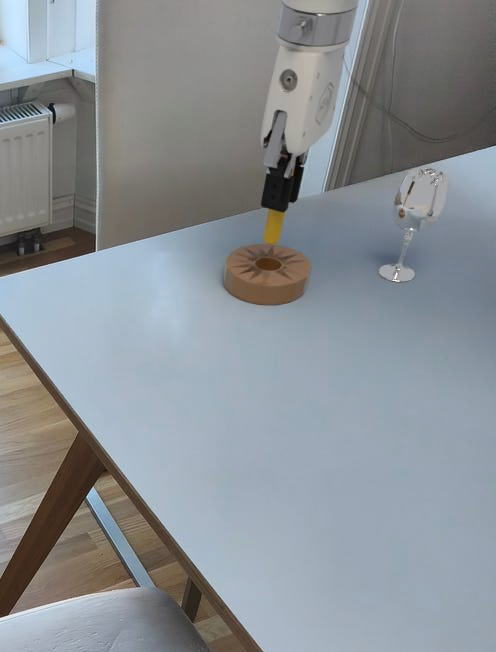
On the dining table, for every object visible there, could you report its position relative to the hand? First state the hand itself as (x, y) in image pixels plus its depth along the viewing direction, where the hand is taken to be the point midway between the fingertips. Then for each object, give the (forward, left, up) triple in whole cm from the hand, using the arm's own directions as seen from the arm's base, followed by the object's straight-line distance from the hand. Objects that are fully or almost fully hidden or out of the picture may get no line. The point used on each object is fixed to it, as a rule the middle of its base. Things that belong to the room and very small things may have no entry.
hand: (278, 203), depth 105 cm
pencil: (0, 0, -5) cm, 5 cm away
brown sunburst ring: (0, 0, -10) cm, 10 cm away
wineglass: (-17, -3, -10) cm, 20 cm away
